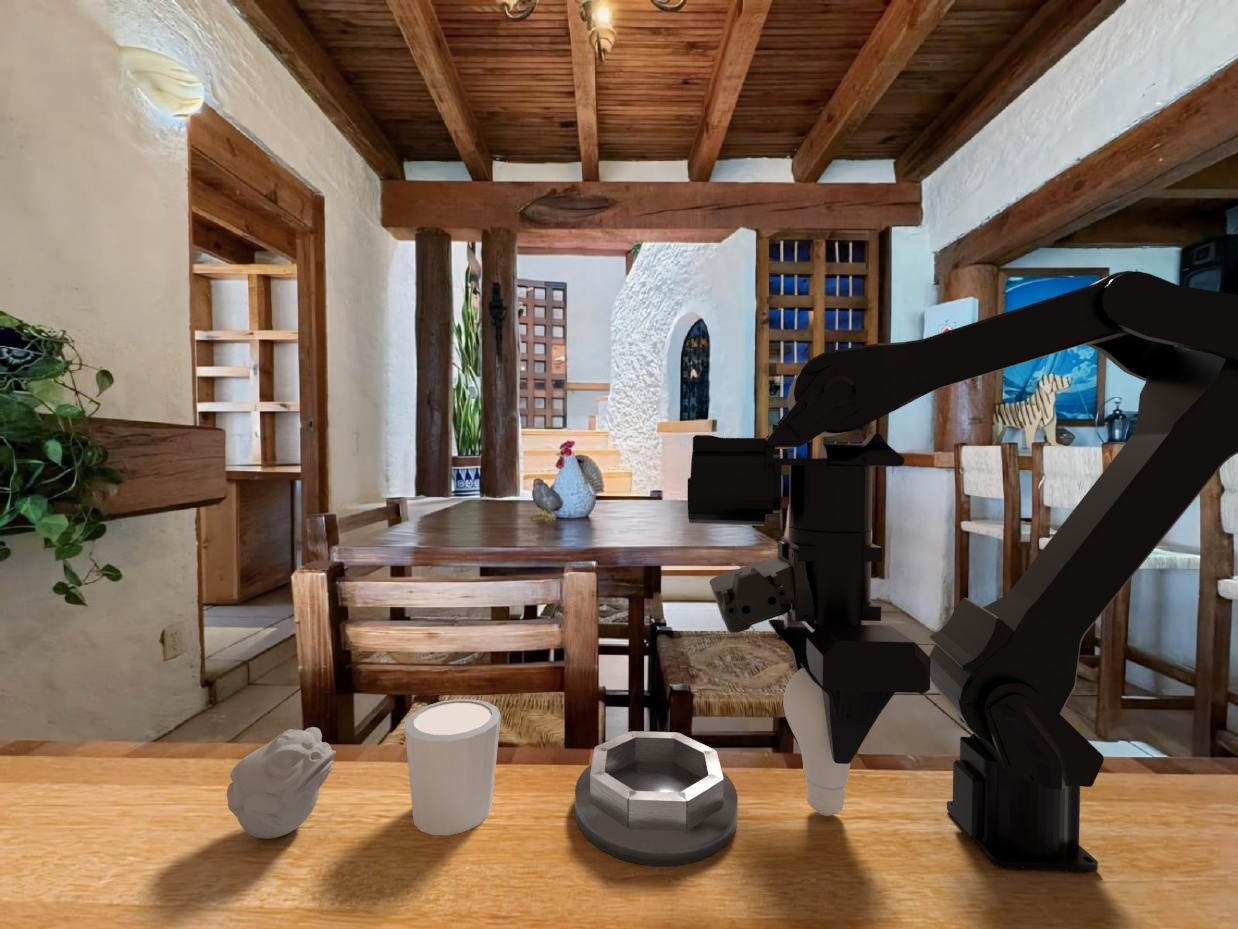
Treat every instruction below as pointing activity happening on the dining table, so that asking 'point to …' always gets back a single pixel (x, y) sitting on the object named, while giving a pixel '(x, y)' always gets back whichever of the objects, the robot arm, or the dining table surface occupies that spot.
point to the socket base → (656, 799)
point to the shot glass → (452, 764)
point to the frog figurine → (280, 783)
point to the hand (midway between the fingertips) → (826, 739)
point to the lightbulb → (815, 744)
